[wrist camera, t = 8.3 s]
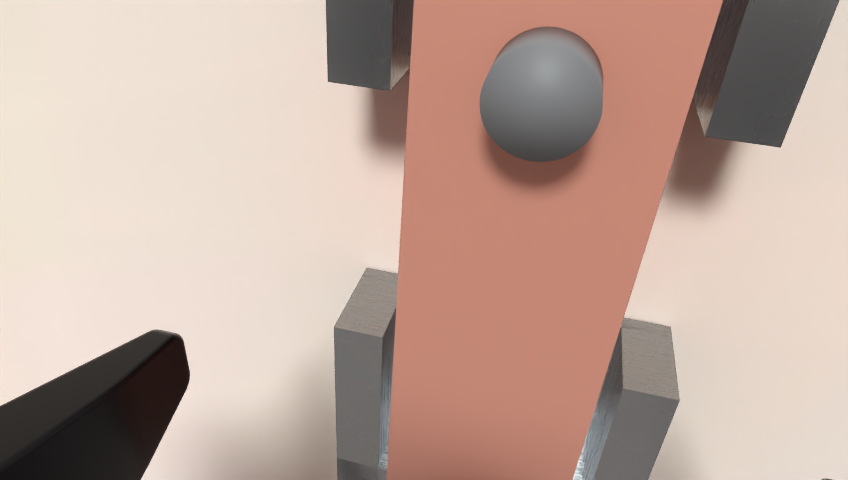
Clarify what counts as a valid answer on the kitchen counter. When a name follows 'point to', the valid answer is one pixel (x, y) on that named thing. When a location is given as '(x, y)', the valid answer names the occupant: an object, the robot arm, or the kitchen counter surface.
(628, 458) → the shallow metal tray
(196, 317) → the kitchen counter surface
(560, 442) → the link
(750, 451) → the kitchen counter surface
